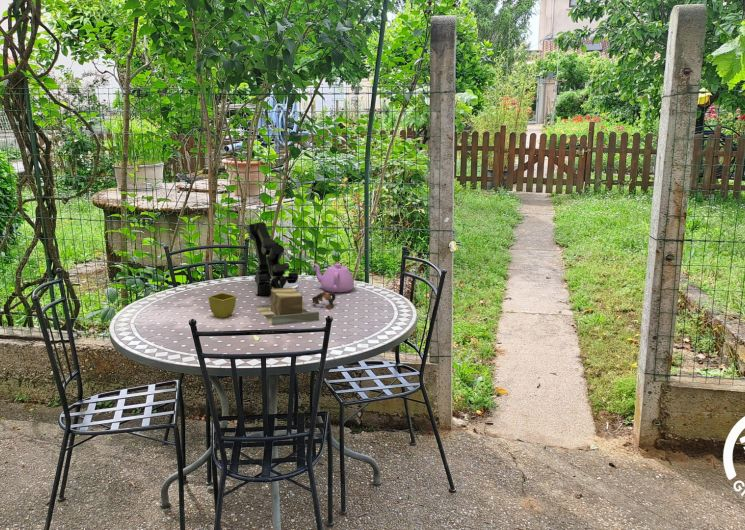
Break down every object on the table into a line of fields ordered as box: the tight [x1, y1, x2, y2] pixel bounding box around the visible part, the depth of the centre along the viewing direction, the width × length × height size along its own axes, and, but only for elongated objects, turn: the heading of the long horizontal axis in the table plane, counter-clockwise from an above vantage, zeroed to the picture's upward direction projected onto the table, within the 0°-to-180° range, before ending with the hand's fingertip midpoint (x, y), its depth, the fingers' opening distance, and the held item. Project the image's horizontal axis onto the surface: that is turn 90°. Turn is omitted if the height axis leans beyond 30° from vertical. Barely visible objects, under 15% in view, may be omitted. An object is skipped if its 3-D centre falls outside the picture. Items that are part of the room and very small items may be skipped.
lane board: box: [255, 305, 320, 326], centre depth 293 cm, size 26×21×4 cm
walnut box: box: [270, 287, 303, 316], centre depth 292 cm, size 14×10×10 cm
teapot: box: [312, 262, 355, 293], centre depth 337 cm, size 22×22×14 cm
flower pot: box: [208, 292, 237, 319], centre depth 287 cm, size 9×9×9 cm
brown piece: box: [311, 291, 336, 310], centre depth 308 cm, size 12×10×8 cm
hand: (281, 294), depth 298 cm, fingers closed
